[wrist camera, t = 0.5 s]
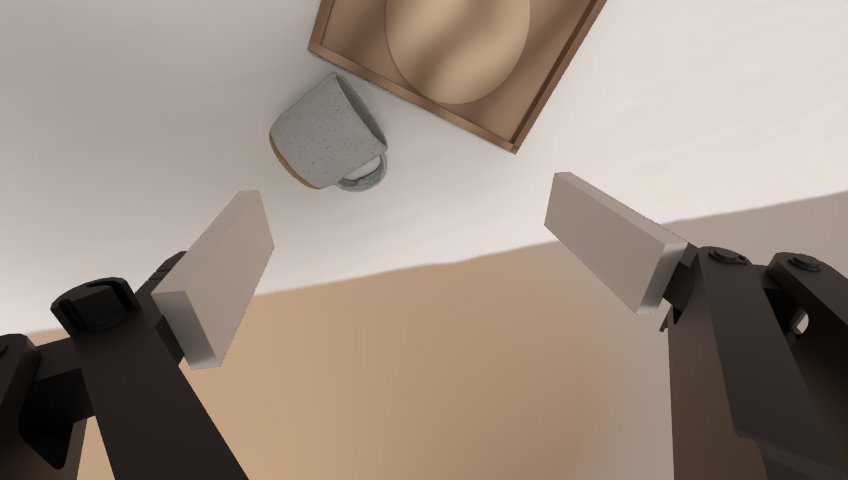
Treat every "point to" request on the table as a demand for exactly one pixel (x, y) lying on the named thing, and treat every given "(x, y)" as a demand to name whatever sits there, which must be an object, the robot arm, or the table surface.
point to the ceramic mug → (329, 138)
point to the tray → (460, 55)
